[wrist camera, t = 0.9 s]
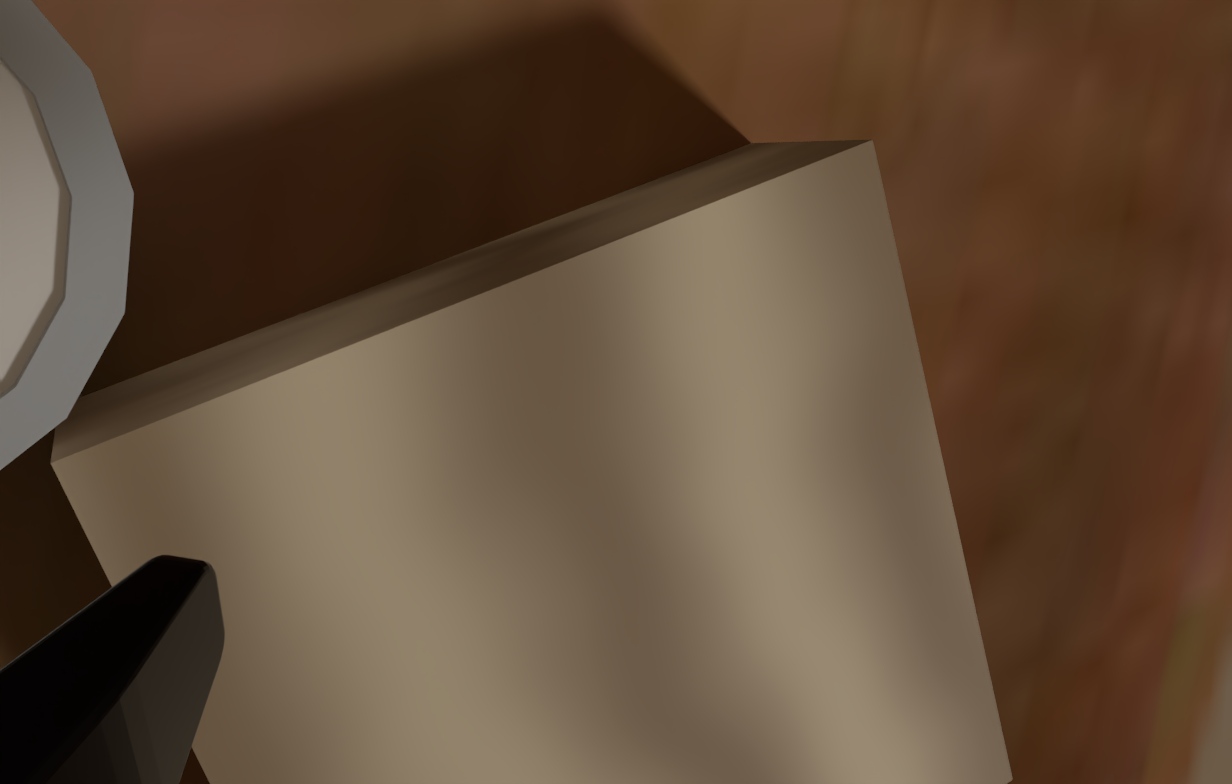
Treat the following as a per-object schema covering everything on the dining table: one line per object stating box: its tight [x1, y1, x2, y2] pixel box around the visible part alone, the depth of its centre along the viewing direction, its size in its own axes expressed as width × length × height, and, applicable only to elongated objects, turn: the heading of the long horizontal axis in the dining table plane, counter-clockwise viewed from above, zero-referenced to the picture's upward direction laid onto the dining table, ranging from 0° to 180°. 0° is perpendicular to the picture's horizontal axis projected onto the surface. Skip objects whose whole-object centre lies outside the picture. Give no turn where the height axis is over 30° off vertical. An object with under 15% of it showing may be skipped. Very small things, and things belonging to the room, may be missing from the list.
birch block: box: [51, 140, 1013, 784], centre depth 22 cm, size 14×14×4 cm
